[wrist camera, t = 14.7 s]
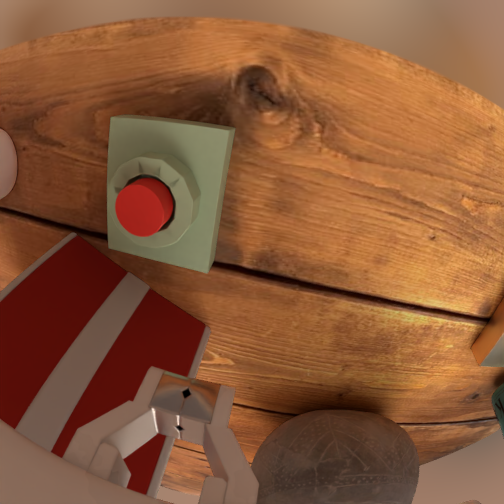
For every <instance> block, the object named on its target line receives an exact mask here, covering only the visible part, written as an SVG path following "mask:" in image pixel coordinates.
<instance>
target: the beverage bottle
mask: <svg viewBox="0 0 504 504" xmlns="http://www.w3.org/2000/svg"><path fill="white" fill-rule="evenodd" d="M491 404H493V406H494V407H493V409H495V410H494V412H496V413H495V415H496V418H497V419H498V420H497V421H499V423H500V426H501V429H502V432H503V435H504V383H503V384H502V385H500V386H499V387H498V388H497V389H496V391H495V392H494V393H493V395H492V403H491ZM499 423H498V424H499Z"/></svg>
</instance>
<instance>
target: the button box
mask: <svg viewBox="0 0 504 504" xmlns="http://www.w3.org/2000/svg"><path fill="white" fill-rule="evenodd" d="M234 134H235V128H234V127H229V126H223V125H216V124H210V123H203V122H196V121H188V120H180V119H172V118H163V117H152V116H141V115H127V114H124V115H118V116H112V117H111V118H110V130H109V144H108V165H107V228H108V248H110V249H113V250H117V251H121V252H125V253H129V254H132V255H136V256H140V257H144V258H148V259H152V260H156V261H160V262H164V263H168V264H172V265H176V266H180V267H184V268H188V269H192V270H196V271H200V272H204V273H208V272H209V270H210V268H211V266H212V263H213V261H214V258H215V251H216V244H217V238H218V231H219V224H220V218H221V211H222V205H223V199H224V192H225V186H226V180H227V174H228V168H229V162H230V156H231V151H232V145H233V139H234ZM141 178H153V179H156V180H158V181H160V182H161V183H163V184H164V185H165V186H166V187H167V189H168V190H169V192H170V194H171V196H172V200H173V212H172V215H171V217H170V218H169V220H168V221H167V222H166V223H165V224H164V225H163V226H162V227H161V228H160V229H159V230H158V231H157V232H156V233H155V234H153V235H151V236H148V237H139V236H135V235H133V234H131V233H129V232H128V231H127V230H125V229H124V228H123V226H122V225H121V224H120V222H119V220H118V218H117V215H116V211H115V203H116V199H117V196H118V194H119V193H120V191H121V190H122V189H123V188H125V187H126V186H128V185H130V184H131V183H133V182H135V181H136V180H138V179H141Z"/></svg>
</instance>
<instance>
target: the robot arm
mask: <svg viewBox="0 0 504 504" xmlns="http://www.w3.org/2000/svg"><path fill="white" fill-rule="evenodd" d="M235 390H236V388H234V387H229V386H224V385H221V384H217V383H212V382H208V381H204V380H199V379H195V378H190V377H186V376H182V375H179V374H176V373H172V372H169V371H166V370H163V369H159V368H156V367H153V366H151V367H150V368H149V370H148V371H147V373H146V375H145V378H144V380H143V382H142V384H141V386H140V388H139V390H138V392H137V394H136V396H135V398H134V400H133V402H132V401H127V402H125V403H124V404H122V405H120V406H118V407H117V408H115V409H113V410H111V411H109V412H108V413H106V414H104V415H102V416H100V417H99V418H97V419H95V420H93V421H91V422H89V423H87V424H86V425H84V426H82V427H80V428H78V429H77V431H76V433H75V435H74V436H73V438H72V440H71V442H70V444H69V446H68V448H67V450H66V452H65V454H64V455H63V457H62V458H60V457H58V456H57V455H55V454H53V453H51V452H50V451H48V450H46V449H45V448H43V447H41V446H40V445H38V444H36V443H35V442H33V441H32V440H30V439H28V438H27V437H25V436H24V435H22V434H21V433H19V432H18V431H16V430H15V429H13V428H12V427H11V426H9V425H8V424H6V423H5V422H4V421H2V420H1V419H0V504H173V503H170V502H166V501H163V500H159V499H156V498H153V497H150V496H147V495H144V494H141V493H139V492H136V491H133V490H130V489H128V488H126V487H127V485H128V482H129V479H130V476H131V473H130V471H129V469H128V468H127V466H126V464H125V462H124V460H123V459H124V458H126V457H127V456H128V455H130V454H131V453H133V452H134V451H135V450H137V449H138V448H139V447H141V446H142V445H143V444H145V443H146V442H147V441H149V440H150V439H151V438H153V437H154V436H155V435H157V433H159V434H162V435H166V436H169V437H173V438H177V439H181V440H184V441H188V442H191V443H195V444H198V445H202V446H203V448H204V451H205V454H206V456H207V459H208V462H209V464H210V467H211V470H212V472H213V475H214V477H213V476H208V477H206V478H205V480H204V484H203V488H202V491H201V495H200V499H199V503H198V504H256V502H257V495H258V488H259V483H258V481H257V479H256V477H255V475H254V473H253V471H252V469H251V467H250V465H249V463H248V461H247V459H246V457H245V455H244V453H243V451H242V449H241V447H240V445H239V443H238V441H237V439H236V437H235V435H234V433H233V431H232V429H230V428H228V423H229V419H230V414H231V409H232V405H233V400H234V395H235ZM460 504H481V503H480V502H478V501H476V500H470V501H467V502H463V503H460Z"/></svg>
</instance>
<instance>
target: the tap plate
mask: <svg viewBox="0 0 504 504" xmlns="http://www.w3.org/2000/svg"><path fill="white" fill-rule="evenodd" d="M471 350H472V352H473V354H474V356H475V358H476V361H477V363H478V365H479V366H488V367H504V297H503V299H502V301H501V303H500V304H499V306H498V308H497V309H496V311H495V313H494V314H493V316H492V317H491V319H490V320H489V322H488V324H487V325H486V327H485V328H484V330H483V331H482V333H481V334H480V336H479V337H478V338H477V340H476V341H475V343H474V344H473V345H472V347H471Z"/></svg>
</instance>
